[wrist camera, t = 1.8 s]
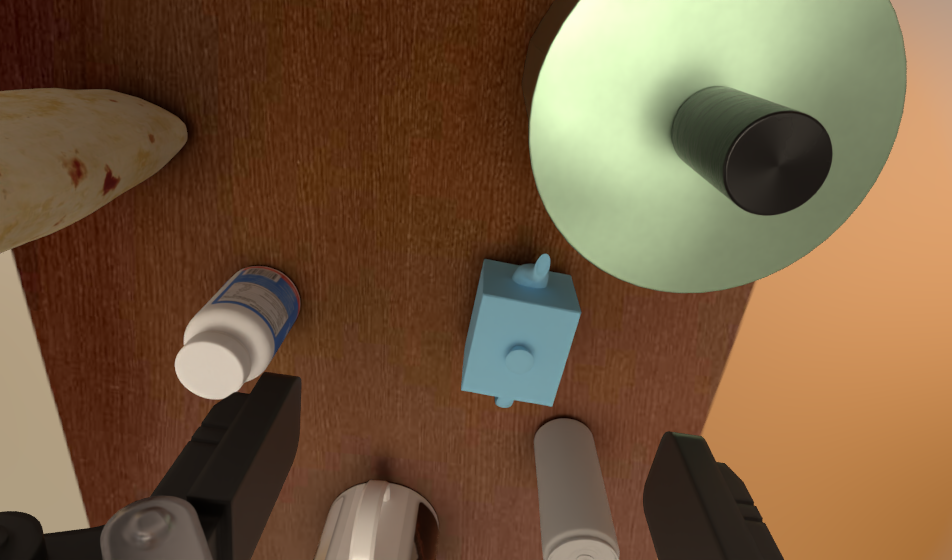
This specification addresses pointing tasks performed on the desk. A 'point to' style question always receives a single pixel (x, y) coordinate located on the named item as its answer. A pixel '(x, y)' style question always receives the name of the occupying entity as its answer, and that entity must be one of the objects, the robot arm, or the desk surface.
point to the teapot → (520, 332)
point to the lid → (712, 132)
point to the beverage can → (572, 494)
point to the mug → (379, 525)
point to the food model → (75, 155)
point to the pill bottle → (237, 332)
